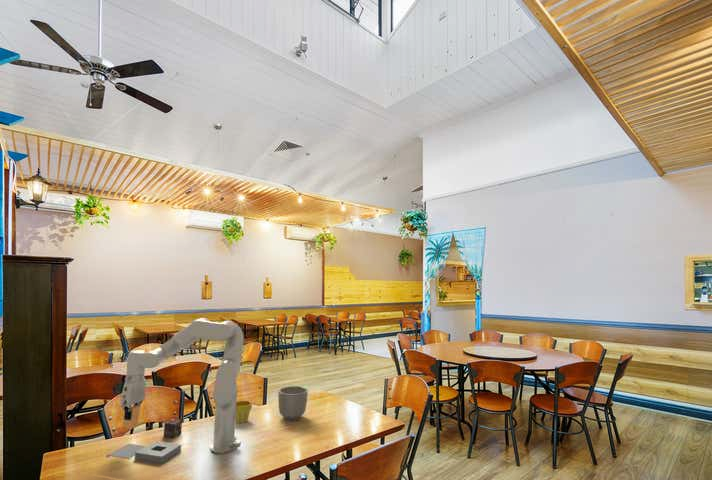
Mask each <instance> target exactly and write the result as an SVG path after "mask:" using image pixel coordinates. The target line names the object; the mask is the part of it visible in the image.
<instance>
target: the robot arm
mask: <svg viewBox="0 0 712 480" xmlns="http://www.w3.org/2000/svg"><path fill="white" fill-rule="evenodd" d="M198 340H205V341H215V342H224V341H225V346H224V350H223V351H224V352H223V353H224V354H223V358H222V361H221V363H220V364H219V366H218V367H217V370H216V372H215V373H216V374H215V380H214V387H213V389H212V390H213V391H212V401H213V402H214V404H215V411H214V412H215V414H214V426H213V427H214V428H213V429H214V430H213V440H212V441H213V442H212V443H210V445H209V451H211V452H212V453H214V454H225V453H230V452H232V451H234V450H236V449H237V447H238V448H240V447H241V443H242V440H240V439H239V440H238V439H237V436H236V435H235V433H236V432H235V430H236V421H235V417H236V402H237V399H238V391H239V387H238V384H237V379H238V376H239V375H238V374H239V373H240V370H241V361H242V356H243V347H244V332H243V331H242V329H241V326H239V325H238V324H237V323H236V322H234V321H232V320H223V321H222V322H215V321H214V322H213V321H210V320H209V318H206V317H200V318H198V319H195V320H194V321H192V322H191V323H190V324H189V325H188V326H186V327H184V328H183V329H181V330H180V331H178V332H176V333H175V334H174V335H173V336H172V337H171V338H170V339H169V340H167V341H166V342H164V343H163V344H161V345H160V346H158V347H157V348H155V349H153V350H151V351H148V352H147V351H145V350H143V349H142V350H140V349H138V350H132V351H129V353H128V354H127V363H126V374H125V375H126V376H125V378H124V381H125V382H124V384H123V388H122V393H121V401H120V402H121V403H120V405H119V409H122V410H123V412H124V411H125V416H124V415H123V419H124V420H131V413H132V411H131V406H132V405H137V406H140V407H141V405H142V403H143V401H144V400H146V395H147V393H146V392H147V387H146V386H147V384H146V378H145V372H146V368H147V369H154V368H156V367H158V366H159V365H160V364H163V363H164V362H165V361H167V360H168V359H170V358H171V357H172V356H174V355H175V354H177V353H179V352H180V351H182V350H185V349H186V348H188V347H189V346H191V345H193V344H194V343H195V342H197V341H198ZM127 406H129V407H127Z"/></svg>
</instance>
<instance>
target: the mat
mask: <svg viewBox="0 0 712 480" xmlns="http://www.w3.org/2000/svg"><path fill="white" fill-rule="evenodd" d="M146 446H147V445H141V444H134V443H127V444H125V445H123V446H121V447H119V448H118V449H116V450H113V451H112V452H110V453H107V454H106V457H114V458H115V457H116V458H123V459H131V458H133V457H135V452H137V451H139V450H141V449H142V448H144V447H146Z"/></svg>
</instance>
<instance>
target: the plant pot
mask: <svg viewBox="0 0 712 480" xmlns="http://www.w3.org/2000/svg"><path fill="white" fill-rule="evenodd" d="M252 406H253V402H251V401H250V400H238V401H237V402H236V417H235V423H237V424H243V423H247V422H248V420H249V416H250V413H251V410H252Z"/></svg>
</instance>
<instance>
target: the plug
mask: <svg viewBox="0 0 712 480" xmlns="http://www.w3.org/2000/svg"><path fill="white" fill-rule="evenodd" d="M127 407H129V406H127ZM140 409H141V405H140V406H137V405H134V404H133V405H132V406H131V411H132V413H131V420H124V418H123V419H122V428H124V429H125V428H127V429H130V430H131V429H134V428H136V427H138V425H139V417H140V416H139V415H140ZM124 416H125V411H124V410H123V417H124Z"/></svg>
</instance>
